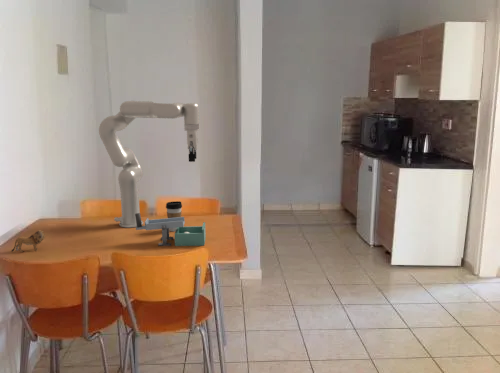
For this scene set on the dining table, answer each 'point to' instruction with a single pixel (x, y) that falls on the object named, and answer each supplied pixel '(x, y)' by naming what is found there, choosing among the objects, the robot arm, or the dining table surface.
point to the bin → (190, 236)
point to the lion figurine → (30, 240)
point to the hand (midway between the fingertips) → (192, 160)
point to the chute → (159, 223)
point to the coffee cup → (173, 211)
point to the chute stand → (165, 237)
